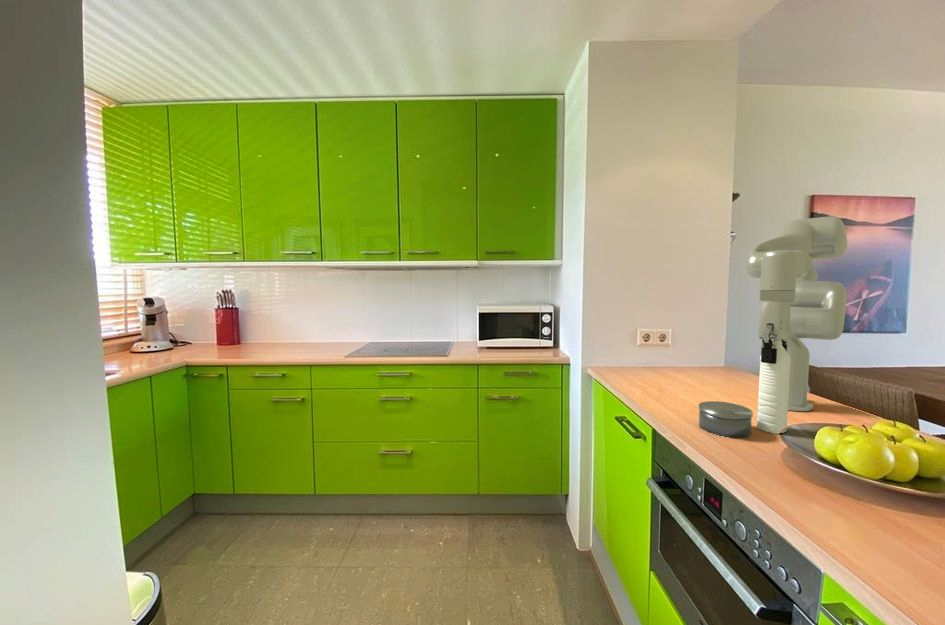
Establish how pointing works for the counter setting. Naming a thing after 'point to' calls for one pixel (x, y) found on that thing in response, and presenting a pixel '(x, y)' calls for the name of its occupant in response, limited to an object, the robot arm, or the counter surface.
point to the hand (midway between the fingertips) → (773, 360)
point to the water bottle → (774, 392)
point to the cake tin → (725, 419)
